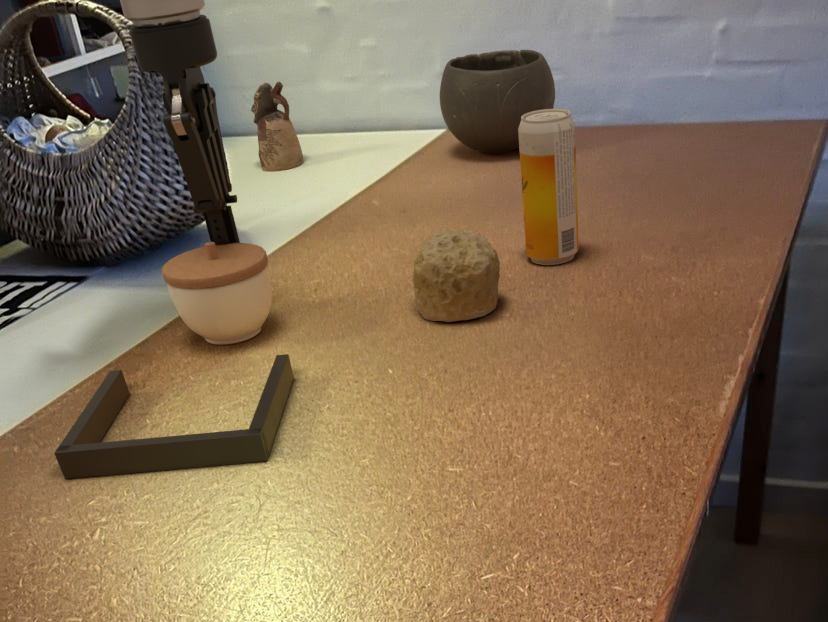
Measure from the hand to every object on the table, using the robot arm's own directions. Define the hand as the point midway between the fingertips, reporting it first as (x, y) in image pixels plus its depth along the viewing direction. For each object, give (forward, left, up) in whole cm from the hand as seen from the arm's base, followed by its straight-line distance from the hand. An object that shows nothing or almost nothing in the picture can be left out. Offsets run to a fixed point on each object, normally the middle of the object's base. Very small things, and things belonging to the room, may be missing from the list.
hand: (232, 270), depth 107 cm
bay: (+14, -23, -5) cm, 27 cm away
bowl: (-6, +68, -5) cm, 69 cm away
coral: (+24, +8, -5) cm, 26 cm away
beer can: (+26, +25, -5) cm, 36 cm away
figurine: (-39, +53, -5) cm, 66 cm away
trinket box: (+3, -5, -5) cm, 8 cm away
